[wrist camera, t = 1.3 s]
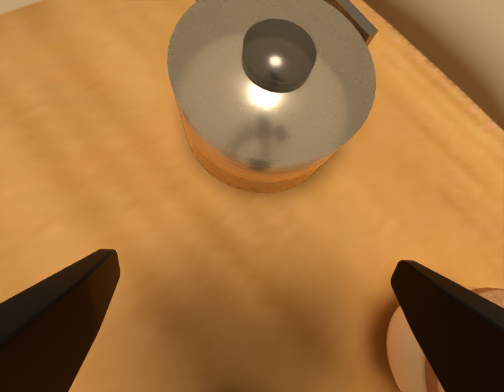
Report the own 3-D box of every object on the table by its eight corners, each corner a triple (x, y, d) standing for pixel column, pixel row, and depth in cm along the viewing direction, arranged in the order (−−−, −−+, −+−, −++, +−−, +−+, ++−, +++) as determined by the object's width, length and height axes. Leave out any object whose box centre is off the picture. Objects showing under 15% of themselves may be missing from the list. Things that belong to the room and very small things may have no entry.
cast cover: (357, 131, 26) (426, 67, 17) (256, 225, 22) (278, 204, 14) (262, 39, 28) (281, -64, 19) (153, 112, 24) (112, 26, 15)
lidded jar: (339, 313, 21) (426, 356, 12) (430, 258, 23) (560, 259, 14) (405, 443, 19) (565, 605, 10) (497, 370, 22) (694, 451, 13)
